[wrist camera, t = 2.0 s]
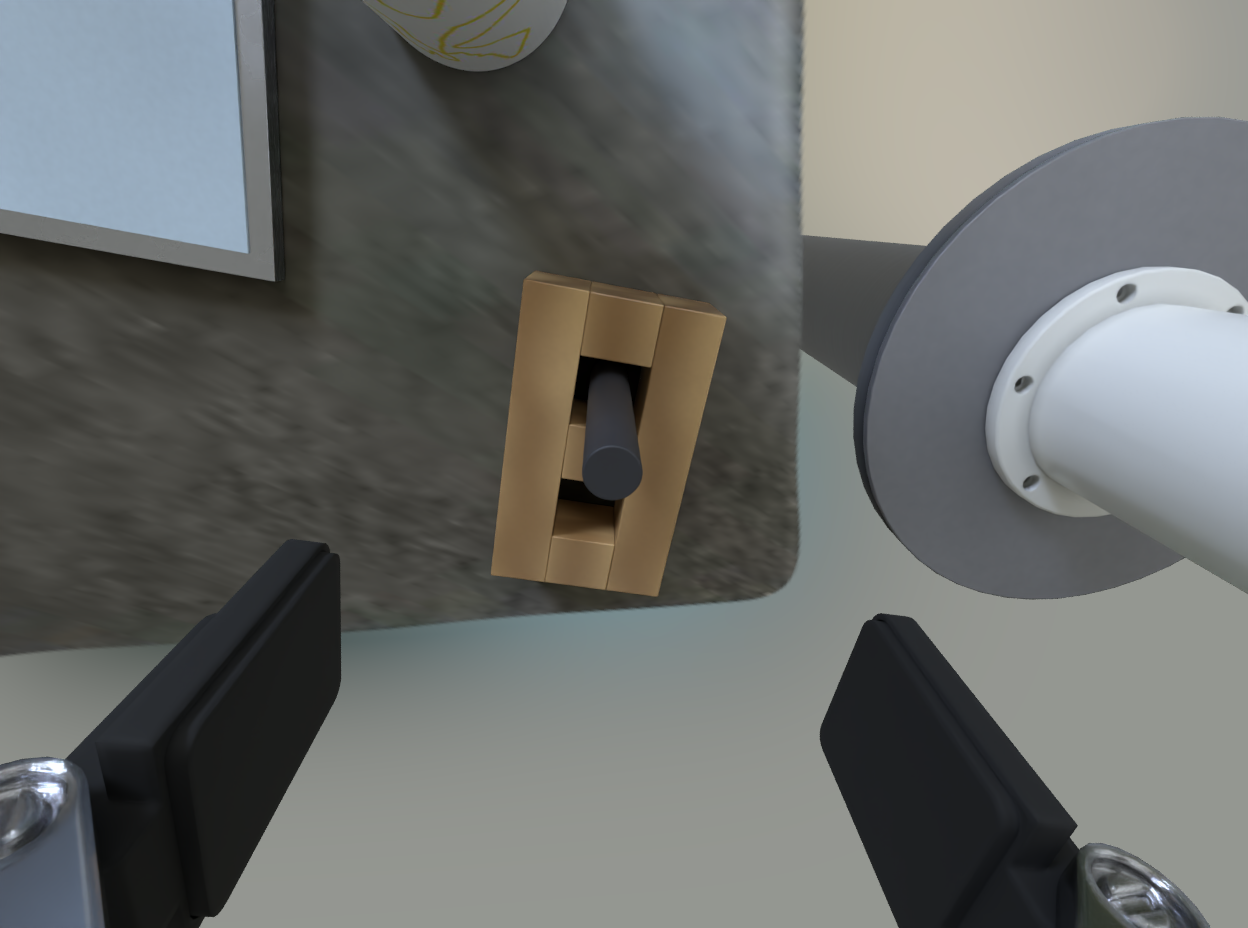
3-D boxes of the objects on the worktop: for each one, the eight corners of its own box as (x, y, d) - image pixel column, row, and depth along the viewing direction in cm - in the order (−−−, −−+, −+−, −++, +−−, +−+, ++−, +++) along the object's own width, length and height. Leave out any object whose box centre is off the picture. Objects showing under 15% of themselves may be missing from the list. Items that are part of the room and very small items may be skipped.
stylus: (630, 358, 28) (648, 450, 17) (623, 394, 29) (636, 505, 17) (593, 352, 28) (587, 441, 17) (587, 388, 28) (577, 496, 17)
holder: (710, 303, 27) (727, 316, 23) (651, 554, 32) (657, 597, 29) (534, 270, 26) (523, 278, 22) (503, 533, 31) (490, 575, 28)
